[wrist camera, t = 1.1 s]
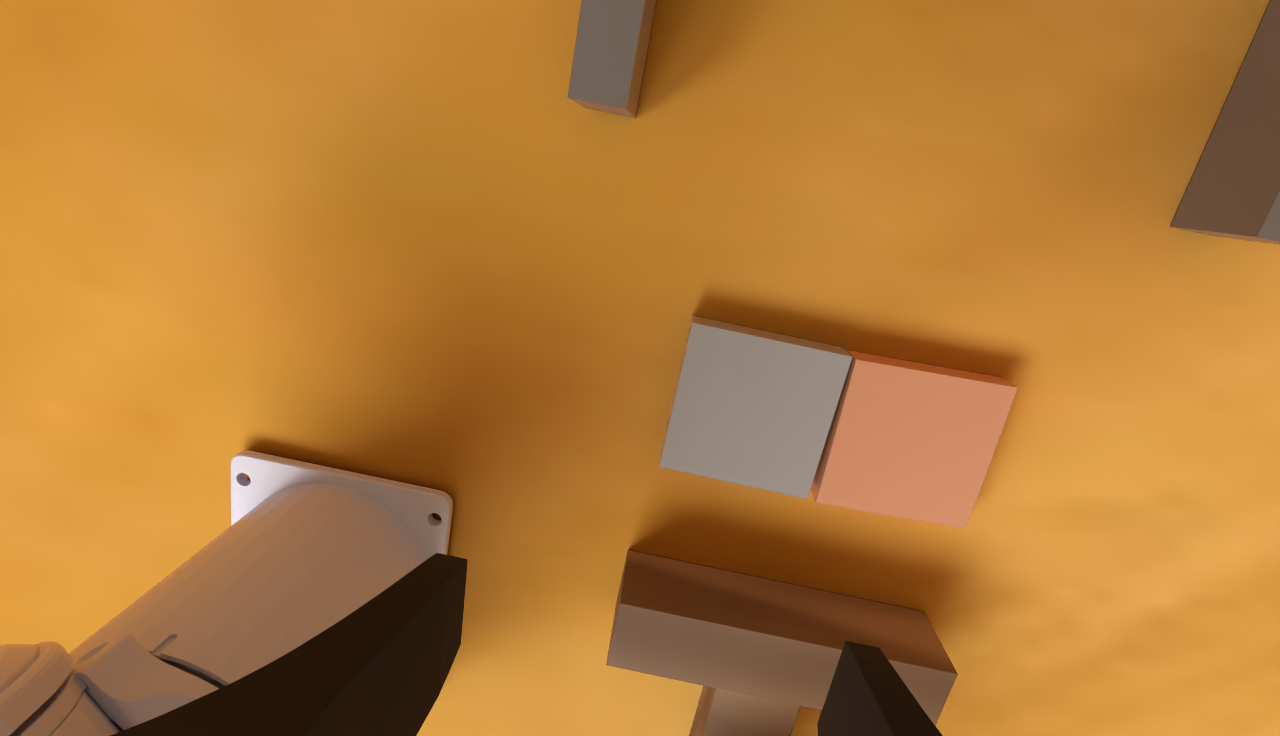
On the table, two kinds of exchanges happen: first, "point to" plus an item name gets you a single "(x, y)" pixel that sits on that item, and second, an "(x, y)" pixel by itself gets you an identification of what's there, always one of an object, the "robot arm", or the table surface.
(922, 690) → the scraper
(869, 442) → the tile terracotta
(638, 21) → the grey flat u-shaped piece
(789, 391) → the tile slate
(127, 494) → the table surface
